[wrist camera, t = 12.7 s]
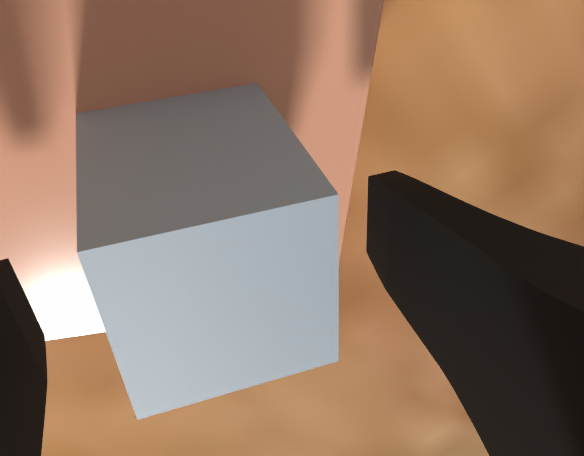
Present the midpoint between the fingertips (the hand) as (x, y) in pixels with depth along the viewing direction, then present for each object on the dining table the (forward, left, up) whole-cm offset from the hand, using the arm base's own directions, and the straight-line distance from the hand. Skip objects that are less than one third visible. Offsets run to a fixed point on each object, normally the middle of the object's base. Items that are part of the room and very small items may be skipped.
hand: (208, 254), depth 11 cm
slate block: (0, 0, -3) cm, 3 cm away
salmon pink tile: (0, 0, -4) cm, 4 cm away
